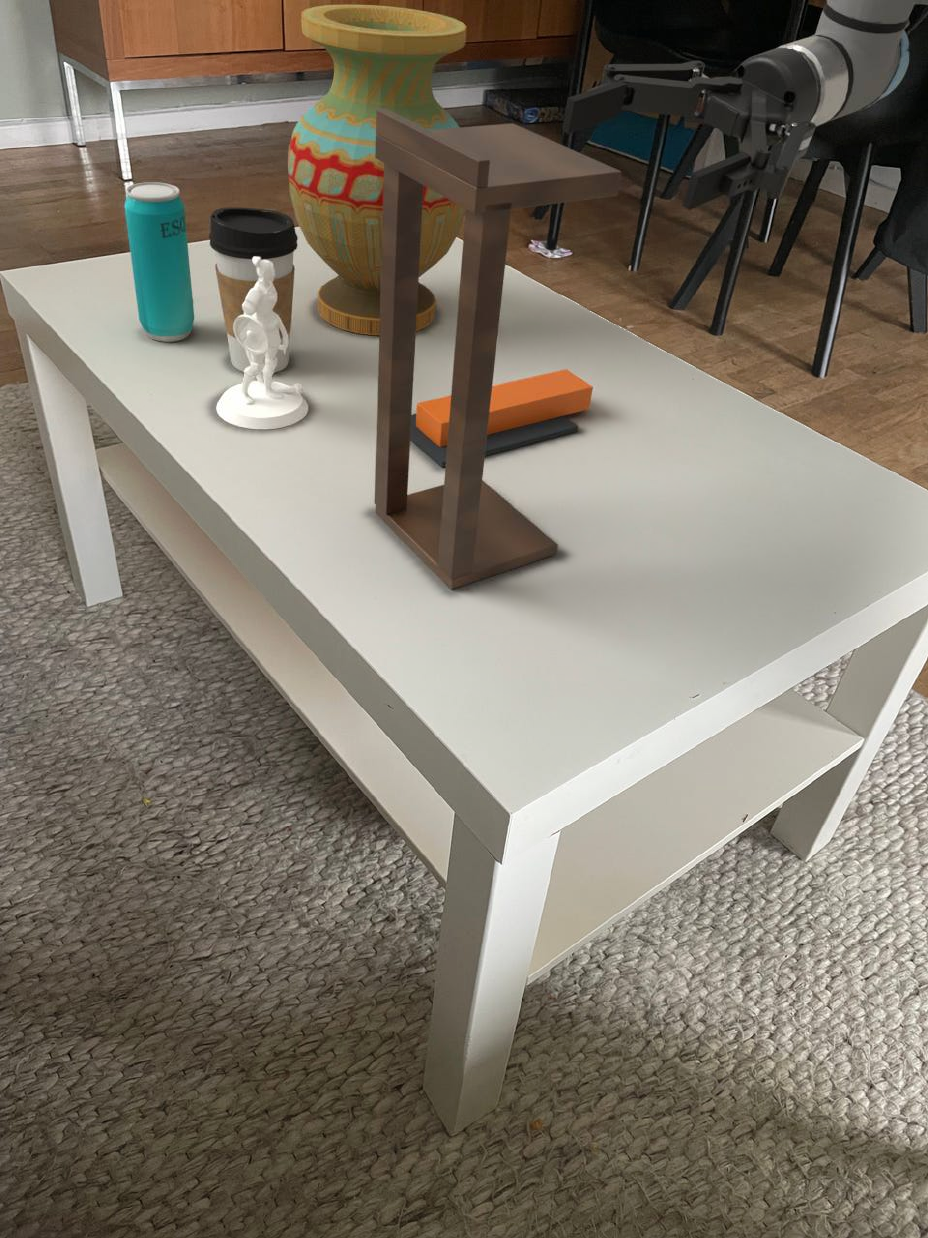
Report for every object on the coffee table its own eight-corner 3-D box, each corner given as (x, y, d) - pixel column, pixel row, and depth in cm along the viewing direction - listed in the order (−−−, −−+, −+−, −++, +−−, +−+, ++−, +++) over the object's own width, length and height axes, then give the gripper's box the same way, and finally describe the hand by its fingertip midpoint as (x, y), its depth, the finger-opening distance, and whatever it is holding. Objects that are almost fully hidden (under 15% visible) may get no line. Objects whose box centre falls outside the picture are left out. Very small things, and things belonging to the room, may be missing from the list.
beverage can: (207, 332, 110) (194, 189, 101) (169, 349, 106) (153, 202, 97) (167, 317, 112) (151, 177, 103) (129, 334, 108) (109, 189, 99)
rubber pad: (524, 392, 105) (525, 387, 105) (577, 431, 100) (578, 425, 99) (392, 424, 98) (392, 418, 97) (441, 467, 92) (442, 462, 92)
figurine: (266, 438, 93) (259, 280, 84) (196, 408, 97) (181, 253, 87) (326, 405, 99) (325, 253, 90) (258, 378, 103) (251, 229, 93)
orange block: (563, 390, 105) (566, 368, 103) (589, 409, 102) (593, 386, 101) (415, 426, 96) (416, 402, 95) (439, 447, 94) (441, 423, 92)
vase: (495, 319, 119) (524, 31, 100) (371, 363, 108) (378, 45, 89) (381, 268, 129) (388, -4, 110) (256, 303, 117) (241, 6, 98)
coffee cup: (214, 347, 108) (202, 202, 98) (293, 342, 110) (289, 201, 100) (224, 382, 101) (212, 232, 92) (307, 377, 104) (304, 229, 94)
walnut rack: (476, 484, 90) (515, 99, 70) (556, 554, 83) (626, 146, 63) (366, 515, 85) (375, 108, 65) (442, 593, 78) (479, 160, 58)
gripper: (880, 196, 89) (731, 270, 79) (670, 78, 99) (515, 131, 89) (919, 110, 83) (763, 178, 73) (692, -6, 93) (528, 40, 83)
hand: (626, 152), depth 81 cm, fingers open, 13 cm apart
